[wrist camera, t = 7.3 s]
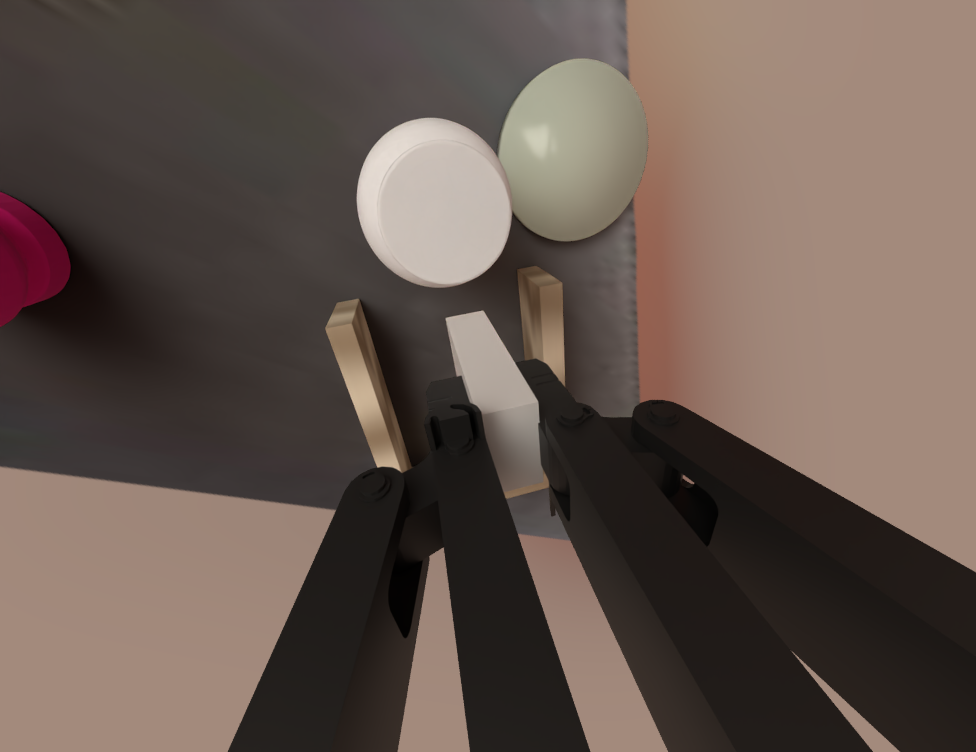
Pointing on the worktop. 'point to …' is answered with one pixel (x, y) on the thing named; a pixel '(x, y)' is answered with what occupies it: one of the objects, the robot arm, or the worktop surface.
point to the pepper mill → (28, 258)
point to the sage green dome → (573, 149)
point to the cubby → (368, 384)
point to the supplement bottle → (434, 202)
